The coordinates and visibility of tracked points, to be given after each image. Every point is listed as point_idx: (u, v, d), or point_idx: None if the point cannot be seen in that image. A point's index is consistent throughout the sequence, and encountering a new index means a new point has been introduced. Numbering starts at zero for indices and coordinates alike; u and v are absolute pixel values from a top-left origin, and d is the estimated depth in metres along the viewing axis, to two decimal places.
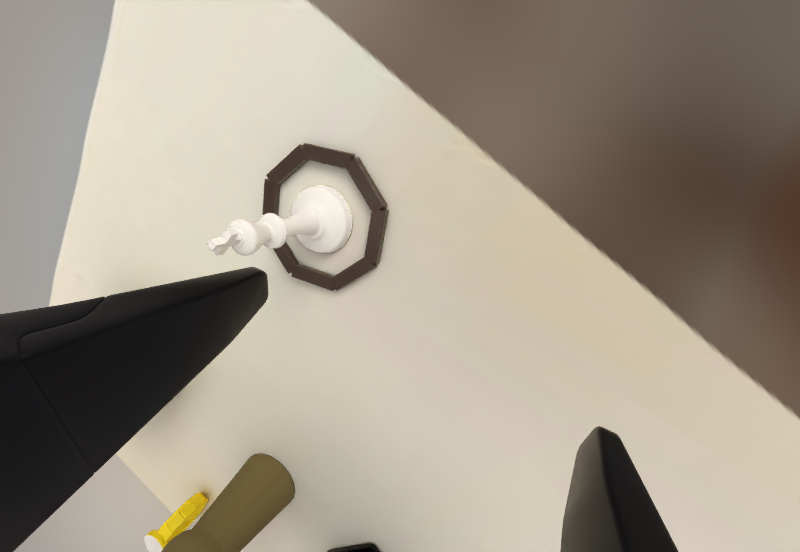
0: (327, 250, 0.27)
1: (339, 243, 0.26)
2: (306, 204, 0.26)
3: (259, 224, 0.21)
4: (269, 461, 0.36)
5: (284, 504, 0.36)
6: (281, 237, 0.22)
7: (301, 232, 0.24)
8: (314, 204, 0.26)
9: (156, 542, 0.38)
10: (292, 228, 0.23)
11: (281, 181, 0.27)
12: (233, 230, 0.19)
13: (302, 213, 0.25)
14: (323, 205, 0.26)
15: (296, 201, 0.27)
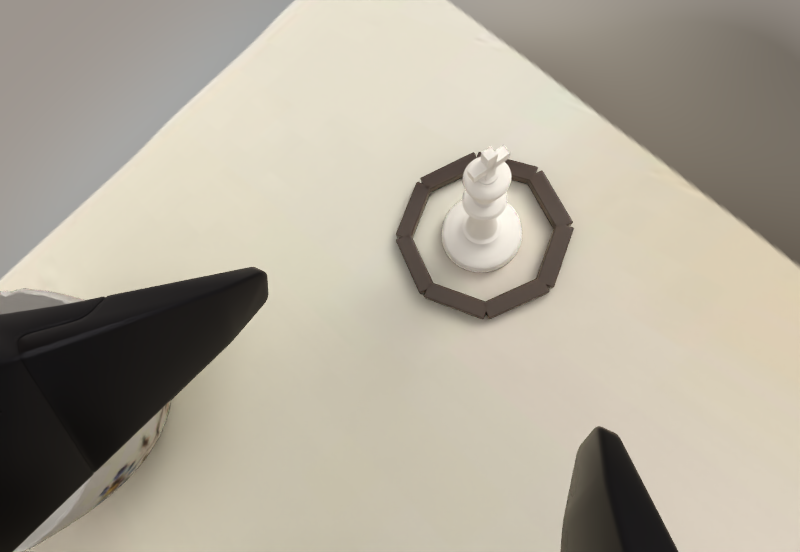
0: (489, 265, 0.22)
1: (507, 258, 0.22)
2: None
3: None
4: None
5: None
6: (503, 205, 0.17)
7: (490, 224, 0.20)
8: None
9: None
10: None
11: (436, 187, 0.24)
12: None
13: None
14: None
15: (458, 206, 0.23)
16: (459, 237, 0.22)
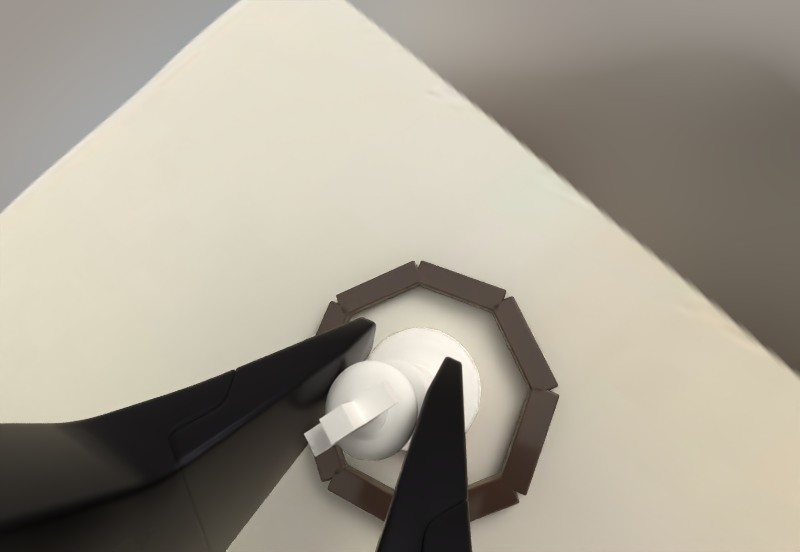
0: None
1: None
2: (408, 356, 0.15)
3: None
4: None
5: None
6: None
7: None
8: (425, 358, 0.14)
9: None
10: None
11: (359, 310, 0.16)
12: (391, 389, 0.07)
13: None
14: None
15: (386, 347, 0.15)
16: None
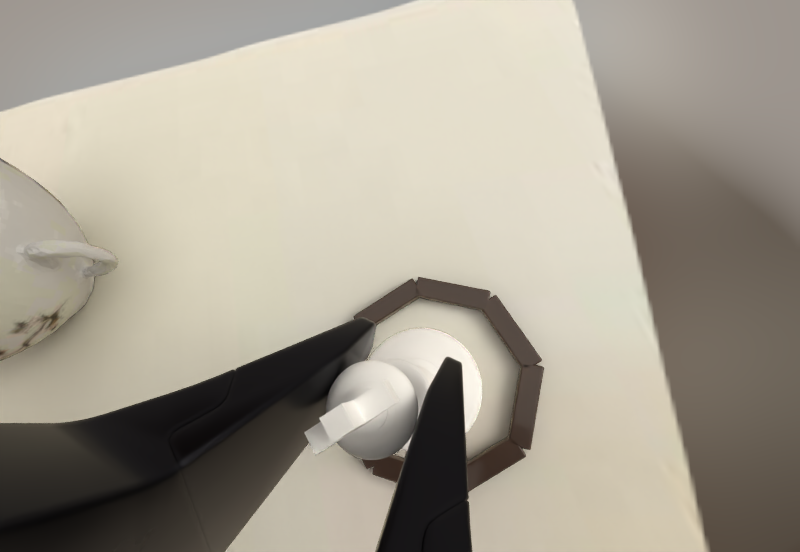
0: None
1: None
2: (410, 356, 0.15)
3: None
4: None
5: None
6: None
7: None
8: (427, 358, 0.14)
9: None
10: None
11: (427, 298, 0.20)
12: (392, 389, 0.07)
13: None
14: None
15: (387, 347, 0.15)
16: None
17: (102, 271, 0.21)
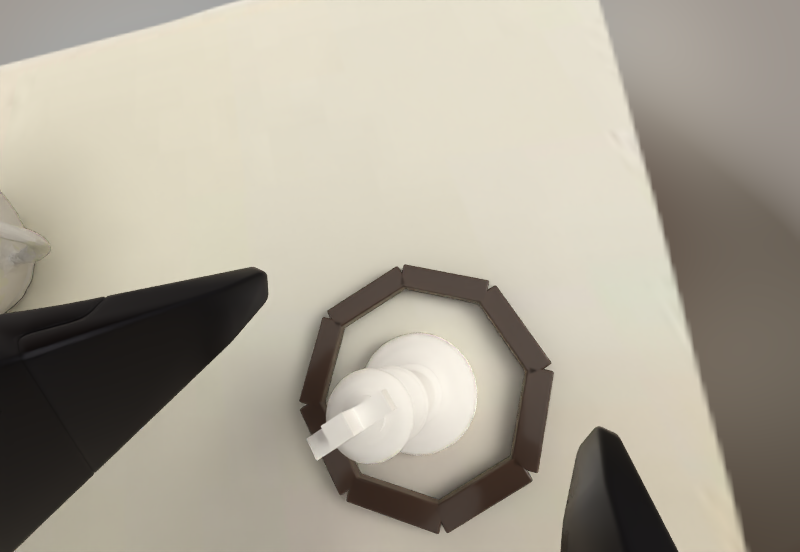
0: (423, 452, 0.15)
1: (451, 442, 0.14)
2: (407, 360, 0.15)
3: None
4: None
5: None
6: (418, 424, 0.10)
7: None
8: (423, 363, 0.15)
9: None
10: None
11: (414, 289, 0.17)
12: (389, 397, 0.07)
13: None
14: (440, 368, 0.15)
15: (385, 352, 0.16)
16: None
17: (32, 257, 0.18)
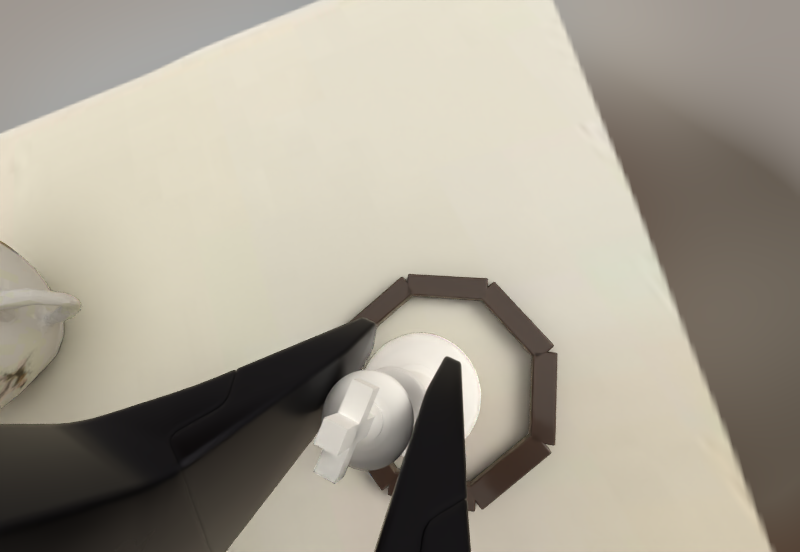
0: None
1: (475, 414, 0.14)
2: None
3: None
4: None
5: None
6: None
7: None
8: (407, 363, 0.15)
9: None
10: None
11: (421, 295, 0.18)
12: (366, 382, 0.07)
13: None
14: (423, 358, 0.15)
15: None
16: None
17: (66, 316, 0.19)
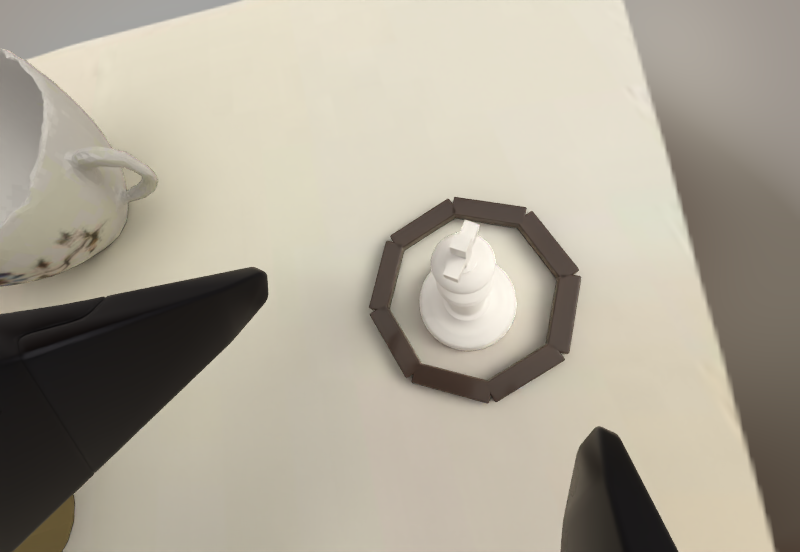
0: (500, 332, 0.18)
1: (513, 313, 0.18)
2: None
3: None
4: None
5: None
6: None
7: None
8: None
9: None
10: None
11: (463, 217, 0.20)
12: None
13: None
14: None
15: (427, 288, 0.19)
16: (451, 322, 0.18)
17: (141, 193, 0.21)
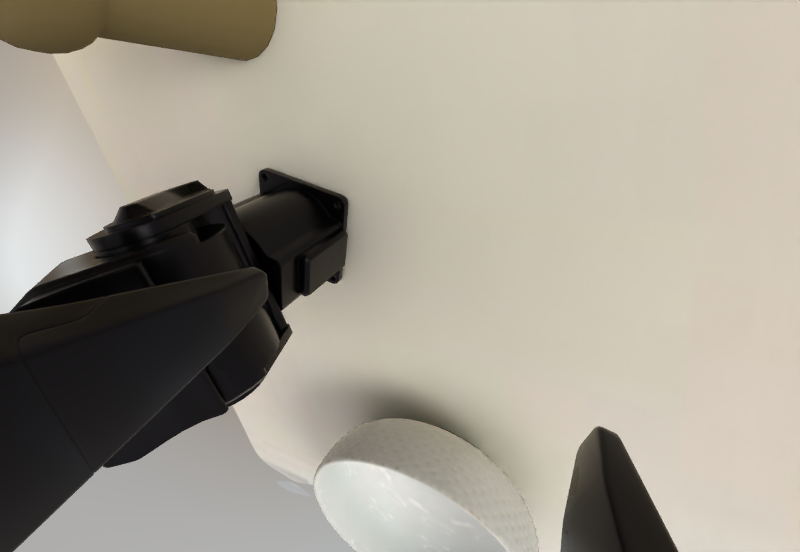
0: None
1: None
2: None
3: None
4: None
5: (242, 49, 0.19)
6: None
7: None
8: None
9: None
10: None
11: None
12: None
13: None
14: None
15: None
16: None
17: None
